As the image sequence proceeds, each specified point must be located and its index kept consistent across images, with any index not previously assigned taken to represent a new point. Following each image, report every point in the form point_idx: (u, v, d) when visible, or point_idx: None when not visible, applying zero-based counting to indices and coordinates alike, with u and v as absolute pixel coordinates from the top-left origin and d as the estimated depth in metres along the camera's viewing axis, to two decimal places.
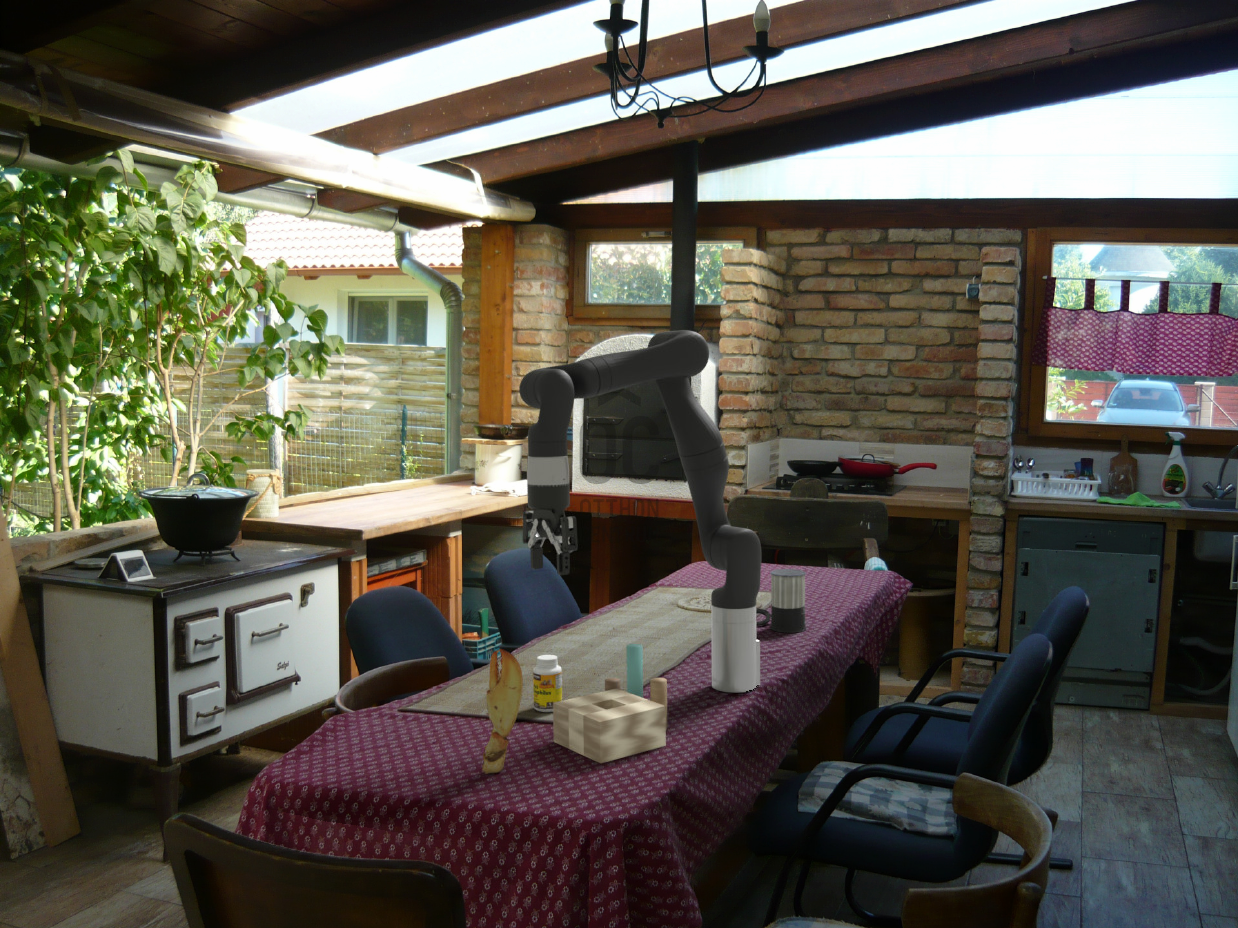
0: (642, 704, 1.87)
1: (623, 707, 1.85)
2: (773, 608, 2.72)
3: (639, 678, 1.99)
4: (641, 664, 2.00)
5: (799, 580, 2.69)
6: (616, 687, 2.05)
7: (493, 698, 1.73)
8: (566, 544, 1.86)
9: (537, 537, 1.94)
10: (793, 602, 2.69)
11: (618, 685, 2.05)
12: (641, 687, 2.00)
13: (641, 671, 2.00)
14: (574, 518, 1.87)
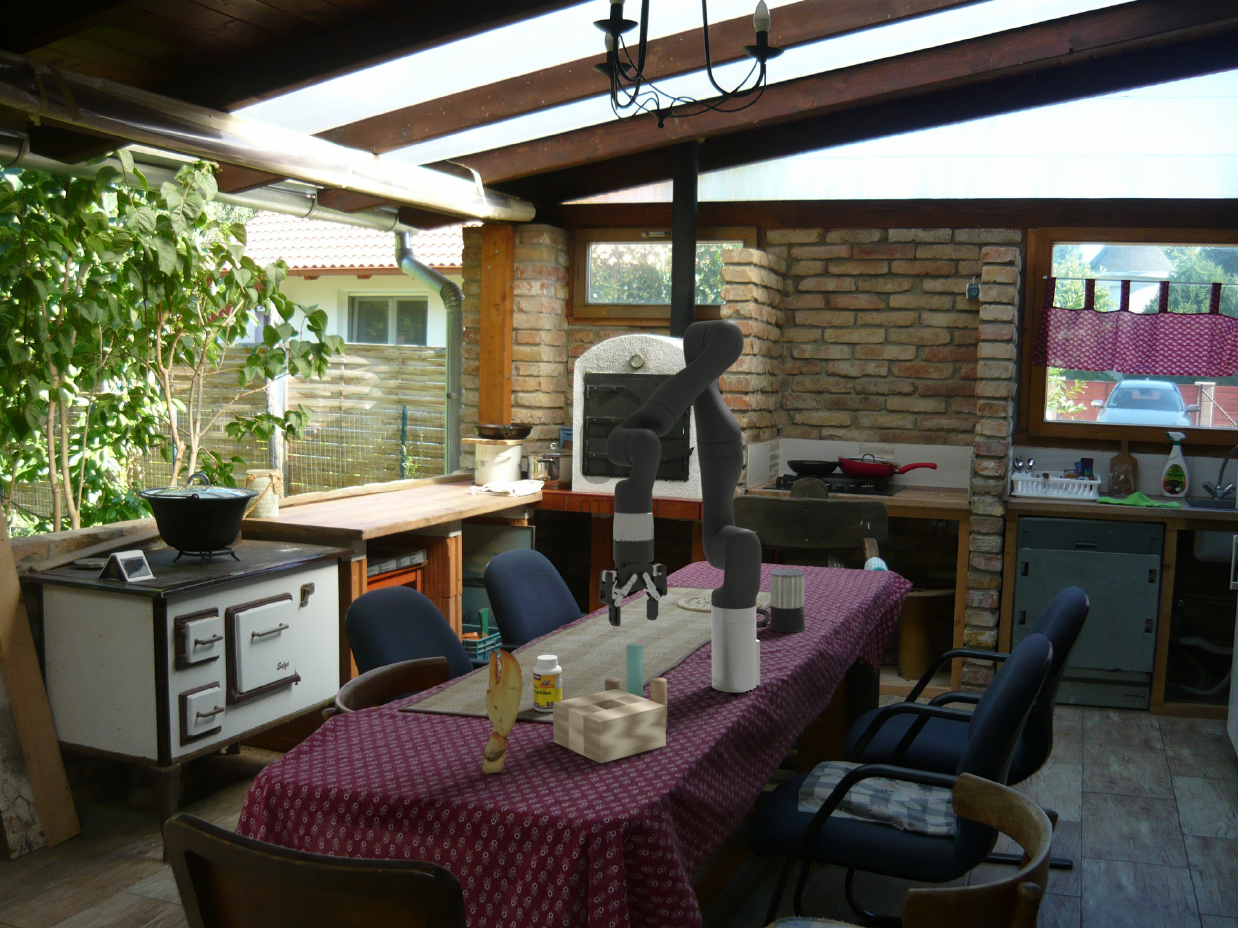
0: (642, 704, 1.87)
1: (623, 707, 1.85)
2: (772, 608, 2.72)
3: (639, 678, 1.99)
4: (641, 664, 2.00)
5: (798, 580, 2.69)
6: (616, 687, 2.05)
7: (493, 698, 1.73)
8: (666, 588, 2.03)
9: None
10: (793, 602, 2.69)
11: (618, 685, 2.05)
12: (641, 687, 2.00)
13: (641, 671, 2.00)
14: None
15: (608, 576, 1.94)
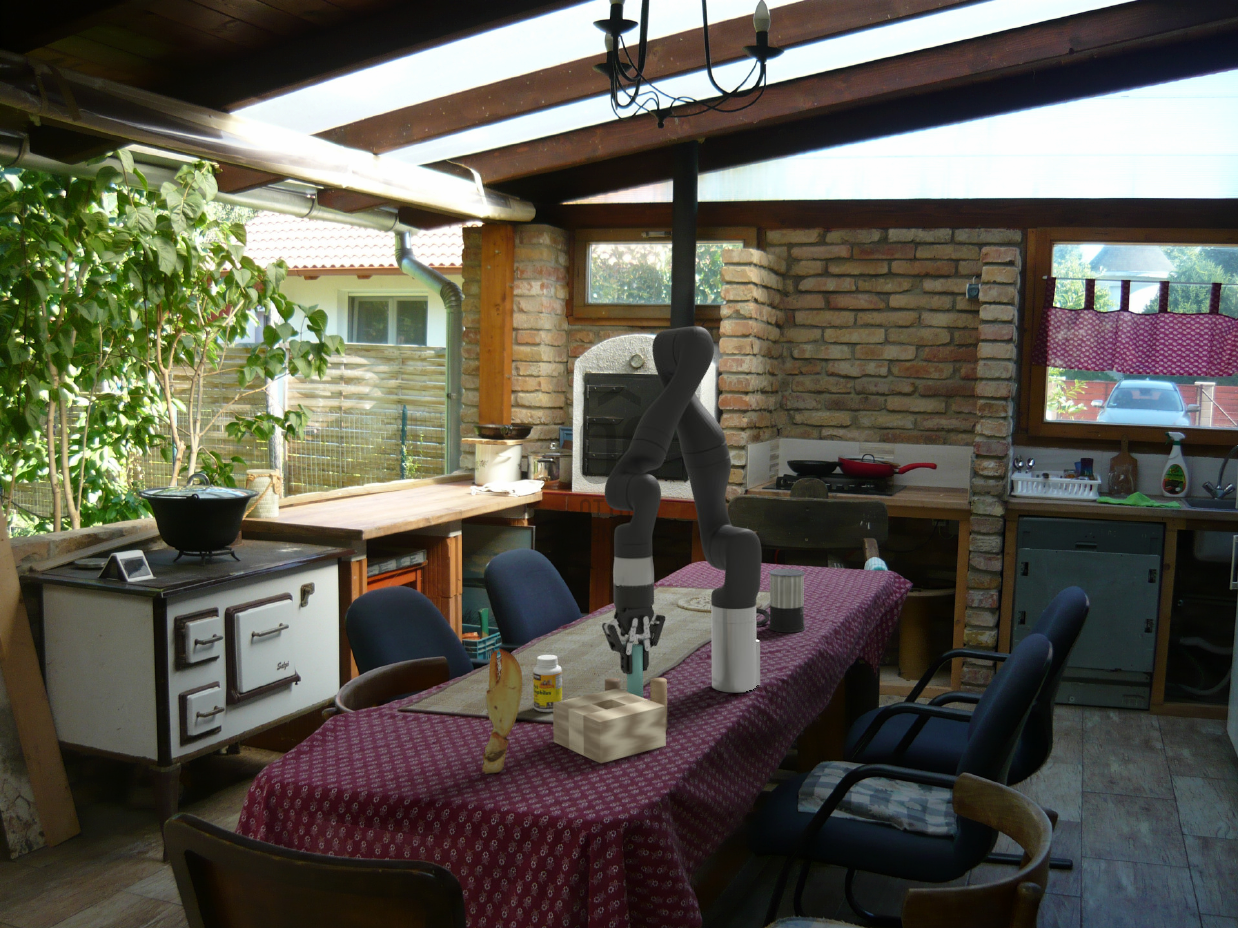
0: (642, 704, 1.87)
1: (623, 707, 1.85)
2: (772, 608, 2.72)
3: (639, 678, 1.99)
4: (641, 664, 2.00)
5: (798, 579, 2.69)
6: (616, 687, 2.05)
7: (493, 698, 1.73)
8: (657, 638, 2.02)
9: None
10: (792, 602, 2.69)
11: (618, 685, 2.05)
12: (641, 687, 2.00)
13: (641, 671, 2.00)
14: None
15: (611, 630, 1.95)
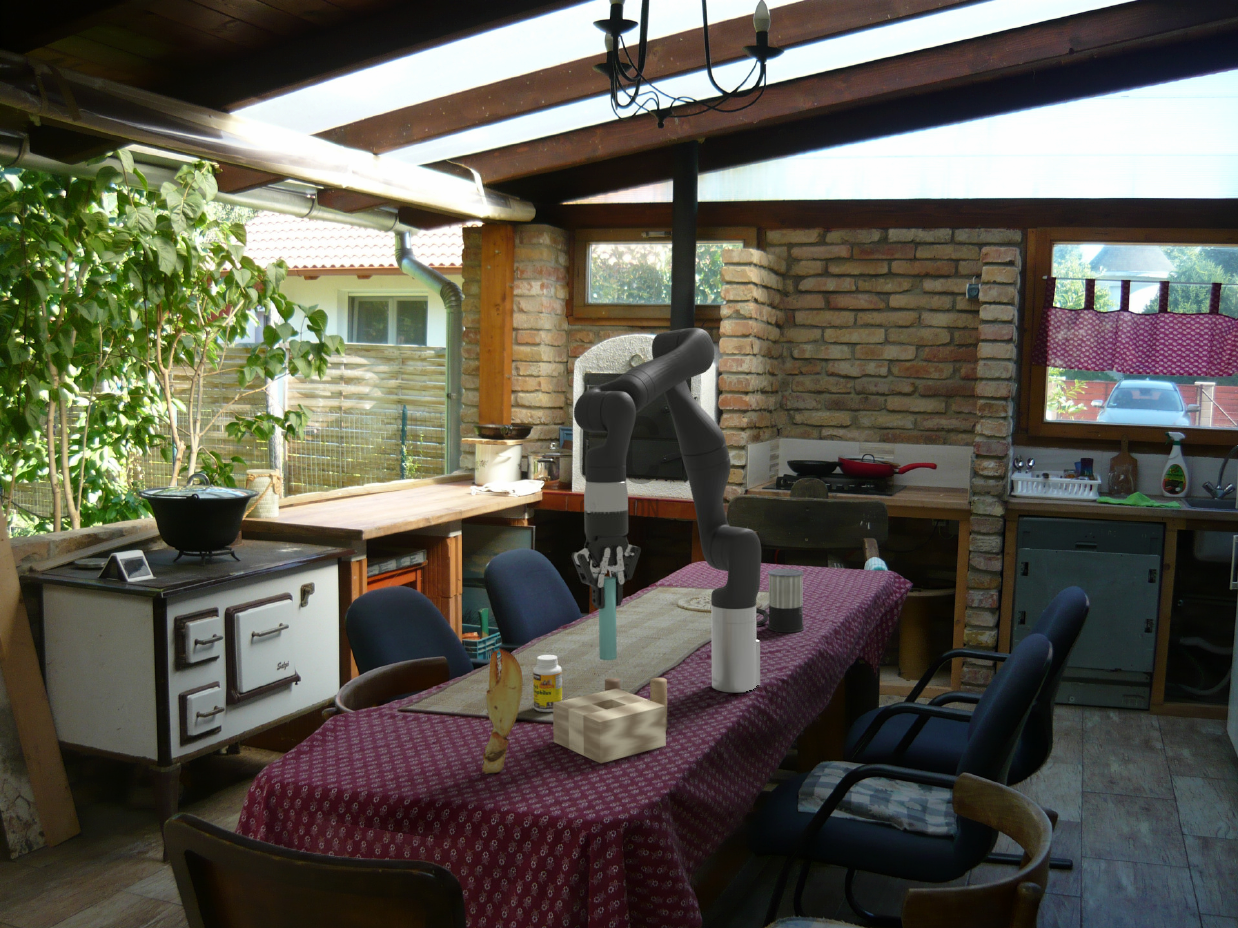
0: (642, 704, 1.87)
1: (623, 707, 1.85)
2: (771, 608, 2.72)
3: (612, 613, 1.85)
4: (614, 598, 1.85)
5: (796, 580, 2.69)
6: (616, 687, 2.05)
7: (493, 698, 1.73)
8: (631, 571, 1.87)
9: None
10: (791, 602, 2.69)
11: (618, 685, 2.05)
12: (614, 623, 1.85)
13: (614, 606, 1.85)
14: None
15: (581, 560, 1.81)
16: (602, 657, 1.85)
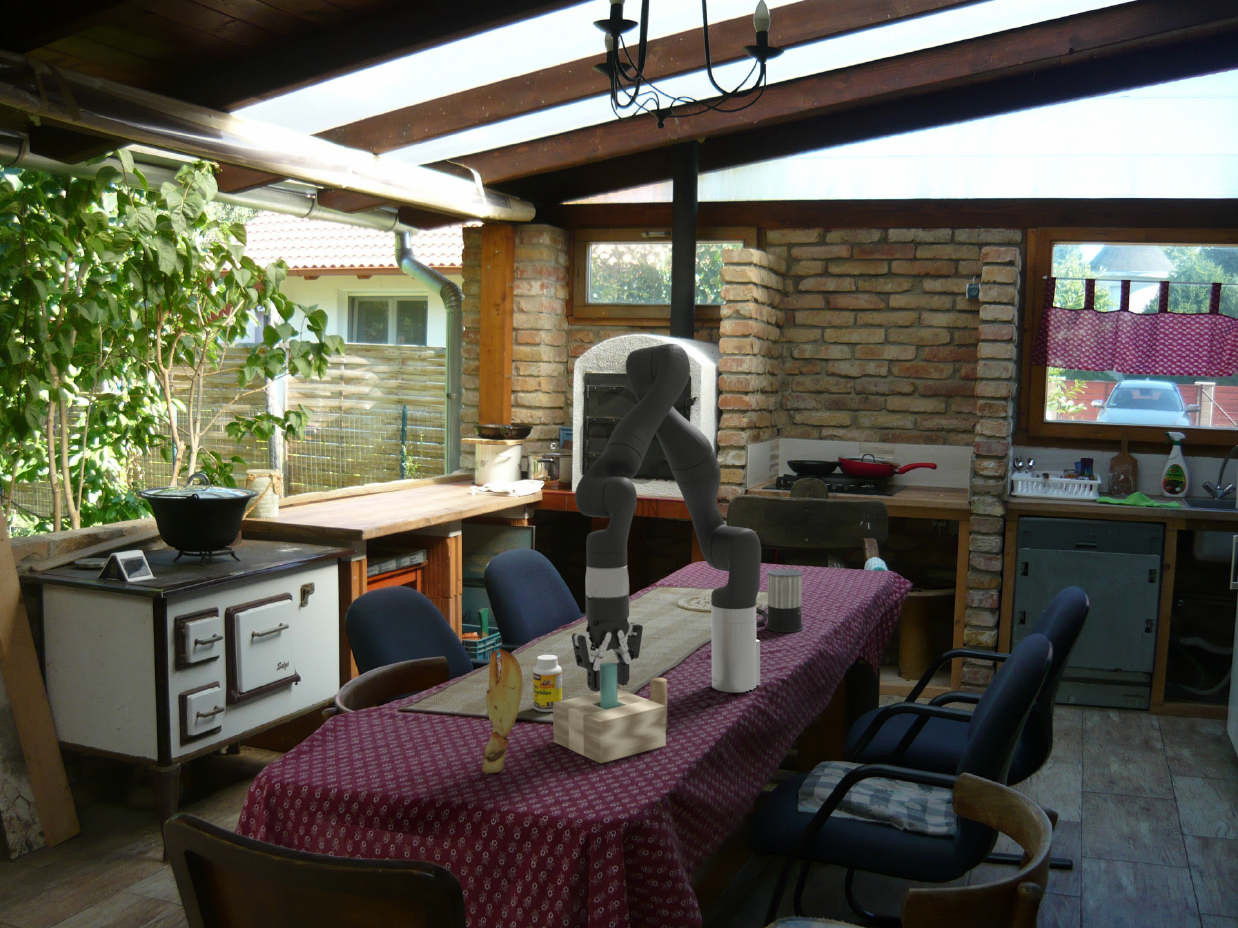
0: (642, 704, 1.87)
1: (623, 707, 1.85)
2: (770, 608, 2.72)
3: (613, 700, 1.86)
4: (615, 685, 1.86)
5: (795, 579, 2.70)
6: None
7: (493, 698, 1.73)
8: (638, 650, 1.89)
9: None
10: (790, 602, 2.69)
11: (618, 685, 2.05)
12: None
13: (615, 692, 1.86)
14: None
15: (581, 641, 1.81)
16: None
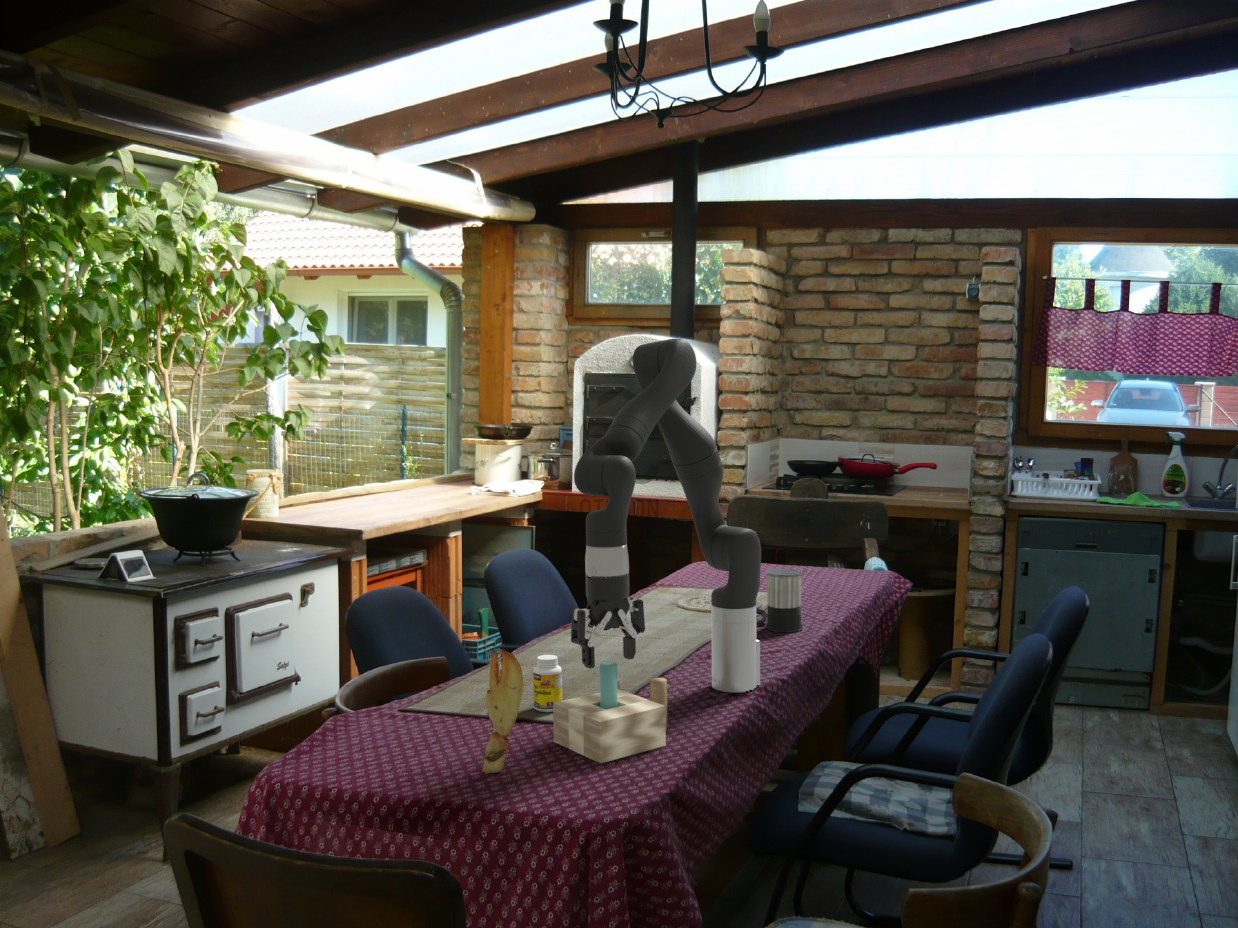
0: (642, 704, 1.87)
1: (623, 707, 1.85)
2: (769, 608, 2.72)
3: (613, 700, 1.86)
4: (615, 685, 1.86)
5: (795, 579, 2.70)
6: None
7: (493, 698, 1.73)
8: (644, 624, 1.89)
9: None
10: (789, 602, 2.69)
11: (618, 685, 2.05)
12: None
13: (615, 692, 1.86)
14: None
15: (580, 615, 1.81)
16: None
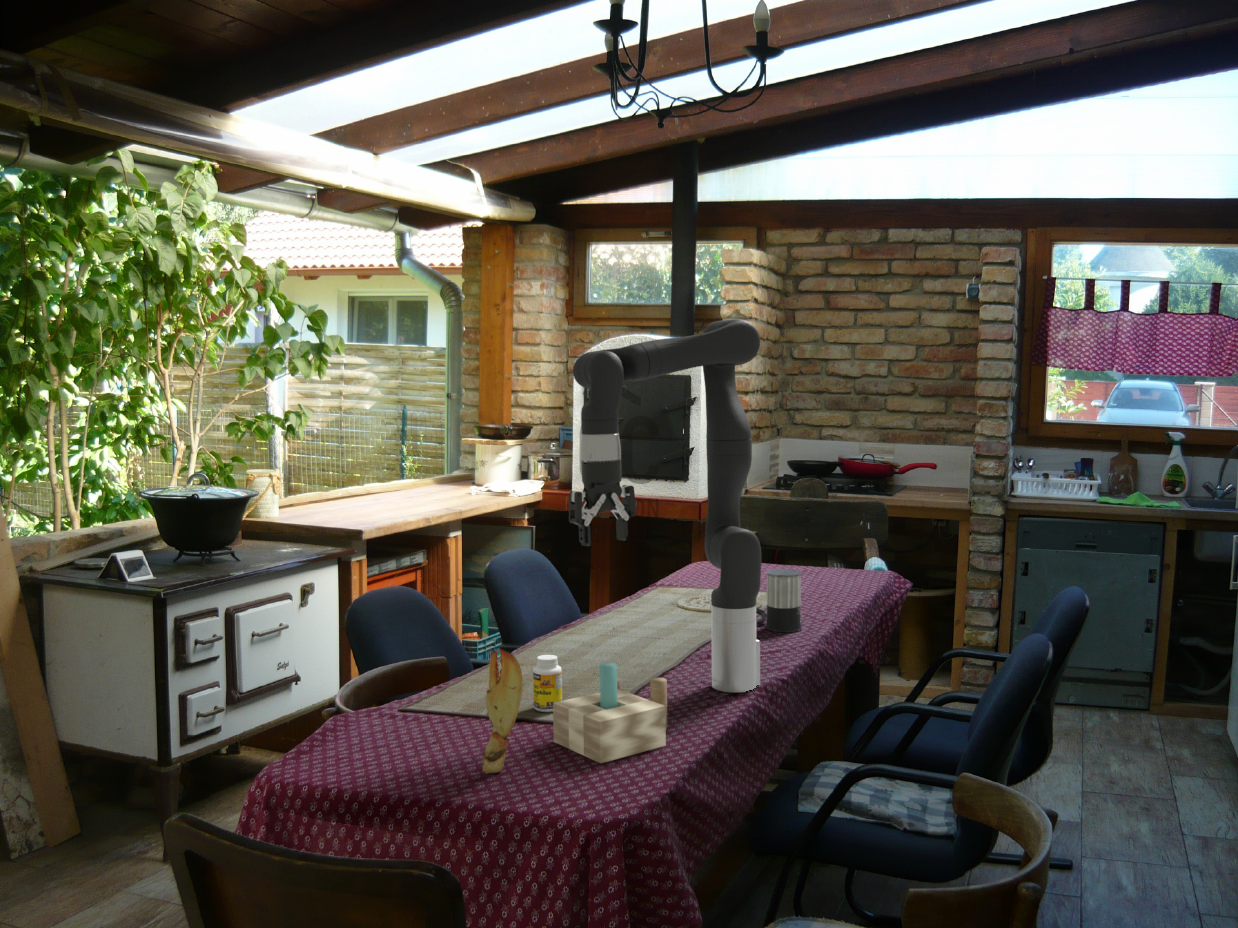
0: (642, 704, 1.87)
1: (623, 707, 1.85)
2: (768, 608, 2.72)
3: (613, 700, 1.86)
4: (615, 685, 1.86)
5: (794, 579, 2.70)
6: None
7: (493, 698, 1.73)
8: (635, 509, 2.07)
9: None
10: (789, 602, 2.69)
11: (618, 685, 2.05)
12: None
13: (615, 692, 1.86)
14: None
15: (577, 496, 1.98)
16: None
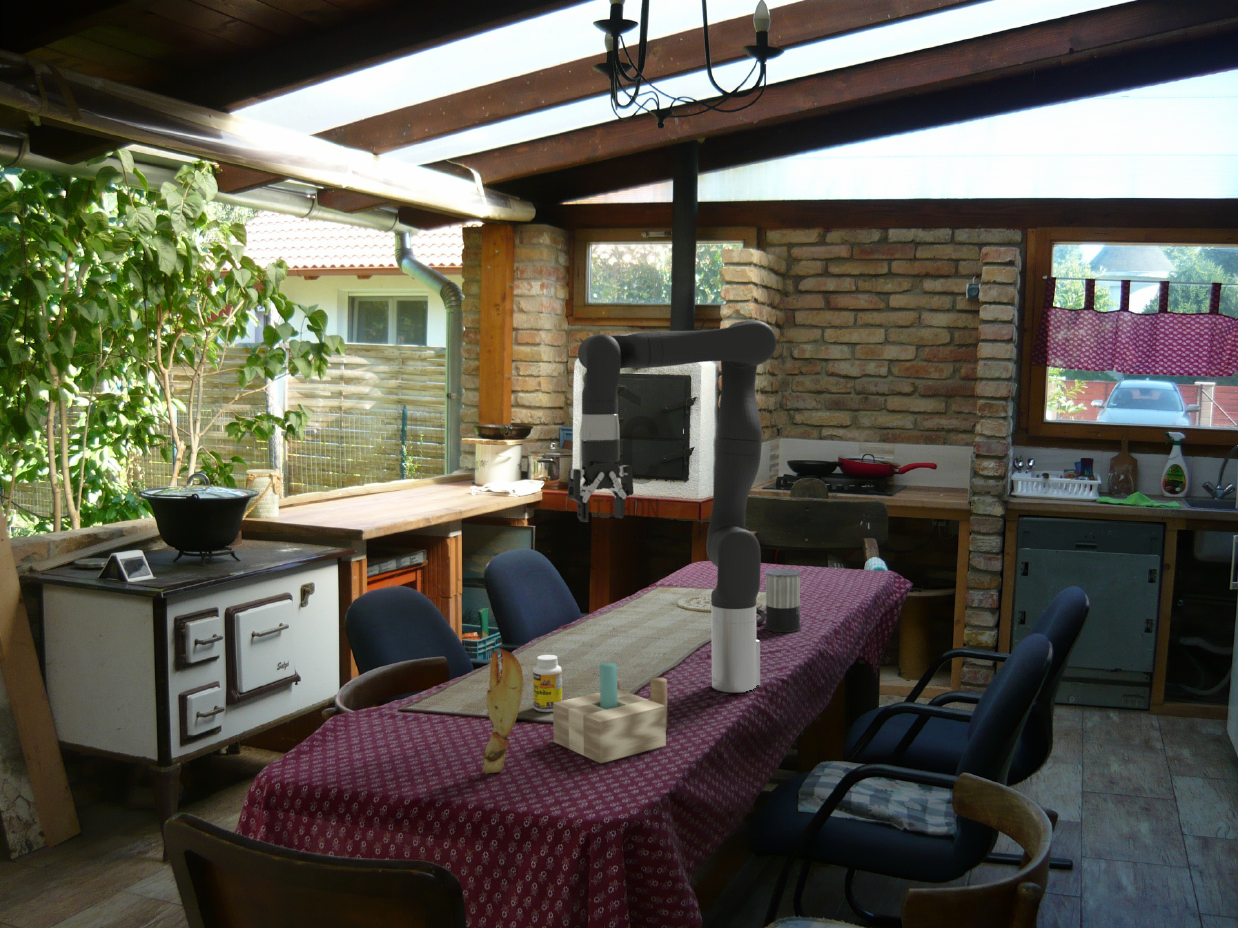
0: (642, 704, 1.87)
1: (623, 707, 1.85)
2: (768, 608, 2.73)
3: (613, 700, 1.86)
4: (615, 685, 1.86)
5: (794, 579, 2.70)
6: None
7: (493, 697, 1.73)
8: (632, 488, 2.14)
9: None
10: (788, 602, 2.70)
11: (618, 685, 2.05)
12: None
13: (615, 692, 1.86)
14: None
15: (576, 473, 2.06)
16: None
